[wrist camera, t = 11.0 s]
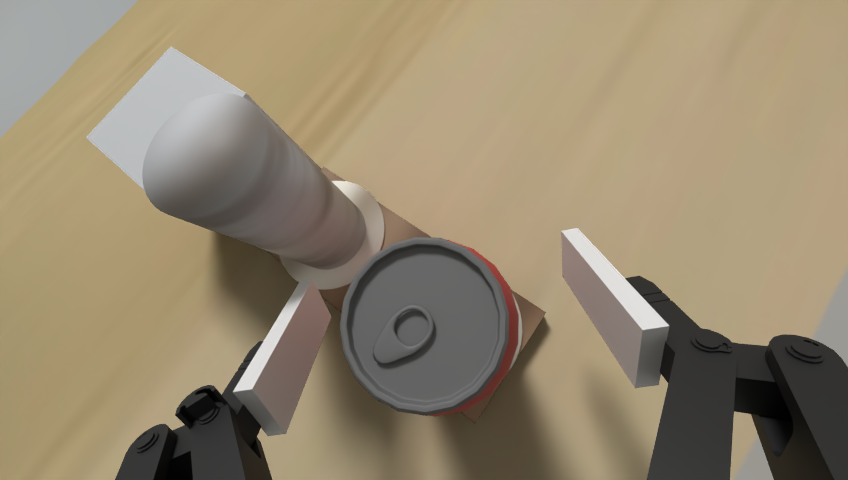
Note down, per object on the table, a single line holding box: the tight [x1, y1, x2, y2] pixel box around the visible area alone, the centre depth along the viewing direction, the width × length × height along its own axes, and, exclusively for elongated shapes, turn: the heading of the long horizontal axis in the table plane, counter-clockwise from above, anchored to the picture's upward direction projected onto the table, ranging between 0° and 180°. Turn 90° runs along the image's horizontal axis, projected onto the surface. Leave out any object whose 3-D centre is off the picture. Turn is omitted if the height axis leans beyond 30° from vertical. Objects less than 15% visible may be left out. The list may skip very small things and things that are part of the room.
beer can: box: [340, 237, 519, 416], centre depth 16 cm, size 7×7×12 cm
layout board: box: [142, 93, 546, 423], centre depth 18 cm, size 21×9×13 cm, turn 54°
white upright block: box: [86, 47, 321, 189], centre depth 24 cm, size 8×8×10 cm
